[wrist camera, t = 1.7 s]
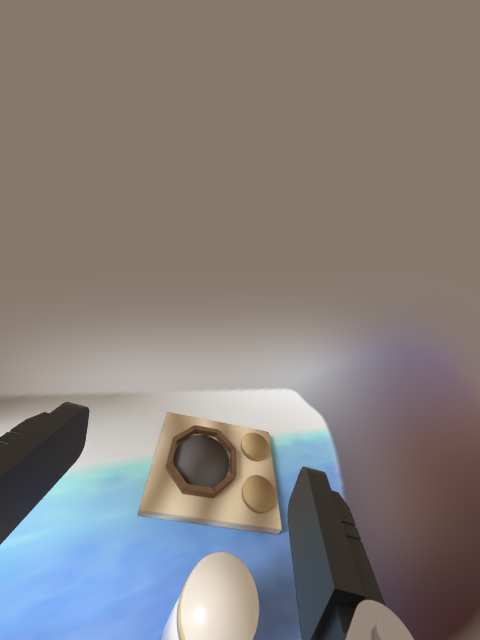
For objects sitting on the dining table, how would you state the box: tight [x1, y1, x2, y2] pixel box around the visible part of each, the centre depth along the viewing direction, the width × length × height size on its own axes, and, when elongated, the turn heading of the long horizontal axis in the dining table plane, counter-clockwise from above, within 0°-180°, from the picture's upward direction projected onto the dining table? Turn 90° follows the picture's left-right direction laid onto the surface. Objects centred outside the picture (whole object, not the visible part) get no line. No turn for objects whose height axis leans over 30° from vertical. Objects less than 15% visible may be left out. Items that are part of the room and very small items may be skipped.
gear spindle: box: [160, 552, 259, 640], centre depth 19 cm, size 5×5×10 cm
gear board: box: [137, 412, 282, 535], centre depth 34 cm, size 16×13×2 cm
